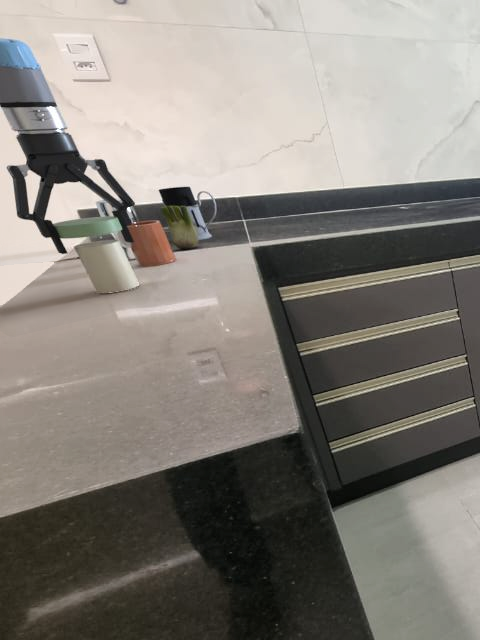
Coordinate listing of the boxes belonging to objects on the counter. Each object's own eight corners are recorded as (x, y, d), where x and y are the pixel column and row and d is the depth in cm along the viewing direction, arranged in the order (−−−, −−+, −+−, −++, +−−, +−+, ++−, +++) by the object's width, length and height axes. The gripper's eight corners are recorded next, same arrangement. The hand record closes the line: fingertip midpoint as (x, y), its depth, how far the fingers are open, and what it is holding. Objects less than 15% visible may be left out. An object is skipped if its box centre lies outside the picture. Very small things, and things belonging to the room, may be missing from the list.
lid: (65, 240, 103) (59, 227, 102) (50, 235, 108) (44, 223, 107) (130, 230, 111) (124, 218, 110) (113, 226, 116) (108, 215, 115)
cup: (145, 267, 132) (127, 227, 127) (134, 264, 135) (116, 225, 131) (181, 260, 137) (164, 221, 133) (169, 257, 141) (153, 219, 137)
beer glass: (137, 254, 147) (111, 198, 140) (161, 253, 146) (136, 197, 140) (114, 260, 140) (86, 202, 134) (138, 260, 140) (112, 201, 134)
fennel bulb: (205, 246, 152) (188, 203, 147) (189, 250, 148) (171, 206, 143) (188, 246, 153) (170, 204, 148) (172, 250, 149) (153, 207, 144)
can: (103, 296, 111) (79, 248, 106) (92, 291, 114) (69, 245, 110) (144, 286, 116) (123, 241, 112) (133, 282, 119) (112, 238, 115)
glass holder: (189, 236, 168) (168, 187, 161) (236, 233, 169) (218, 184, 162) (170, 242, 160) (148, 191, 153) (219, 239, 161) (199, 188, 155)
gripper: (-43, 135, 91) (26, 262, 101) (124, 129, 108) (169, 237, 118) (-51, 136, 95) (16, 257, 104) (111, 129, 112) (156, 234, 121)
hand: (97, 247), depth 111 cm, fingers closed on lid, 10 cm apart
